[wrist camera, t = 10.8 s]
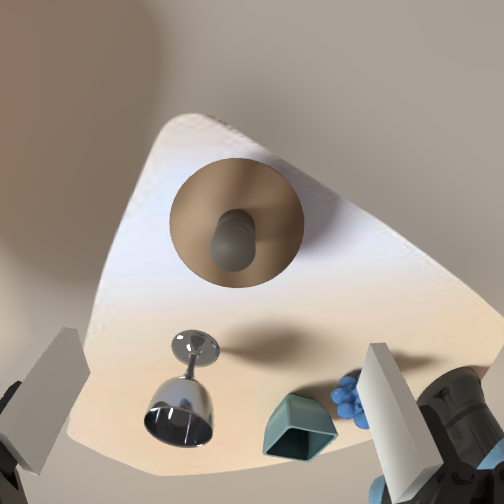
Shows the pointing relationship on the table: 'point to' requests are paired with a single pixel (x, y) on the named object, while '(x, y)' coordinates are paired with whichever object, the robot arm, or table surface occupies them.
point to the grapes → (349, 401)
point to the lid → (236, 223)
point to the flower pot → (298, 429)
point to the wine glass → (184, 396)
